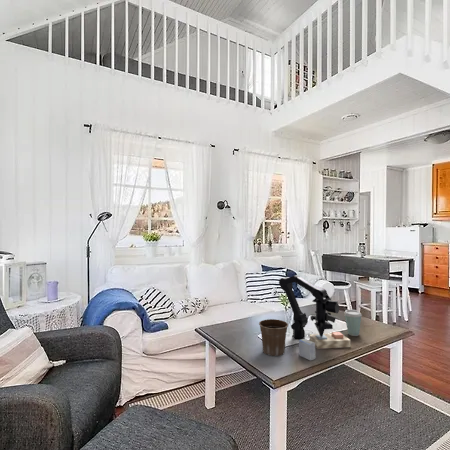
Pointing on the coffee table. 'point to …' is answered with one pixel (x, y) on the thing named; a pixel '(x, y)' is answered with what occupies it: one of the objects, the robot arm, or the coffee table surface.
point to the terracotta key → (337, 335)
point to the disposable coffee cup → (353, 321)
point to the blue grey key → (321, 337)
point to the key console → (329, 341)
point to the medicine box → (307, 349)
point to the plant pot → (273, 336)
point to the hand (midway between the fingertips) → (321, 336)
